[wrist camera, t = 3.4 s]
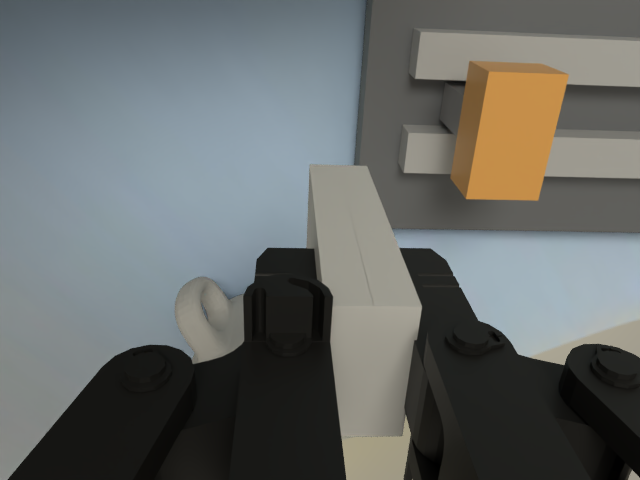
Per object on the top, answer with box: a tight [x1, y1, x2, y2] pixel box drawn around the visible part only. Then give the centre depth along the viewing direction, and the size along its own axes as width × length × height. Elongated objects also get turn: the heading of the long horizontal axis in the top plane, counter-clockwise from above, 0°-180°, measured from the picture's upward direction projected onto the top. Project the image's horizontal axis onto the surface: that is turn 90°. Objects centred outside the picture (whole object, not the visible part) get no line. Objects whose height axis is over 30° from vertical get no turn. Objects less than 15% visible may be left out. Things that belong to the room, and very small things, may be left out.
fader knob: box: [440, 61, 569, 201], centre depth 24 cm, size 3×5×6 cm, turn 178°
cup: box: [175, 277, 244, 364], centre depth 31 cm, size 11×8×8 cm
